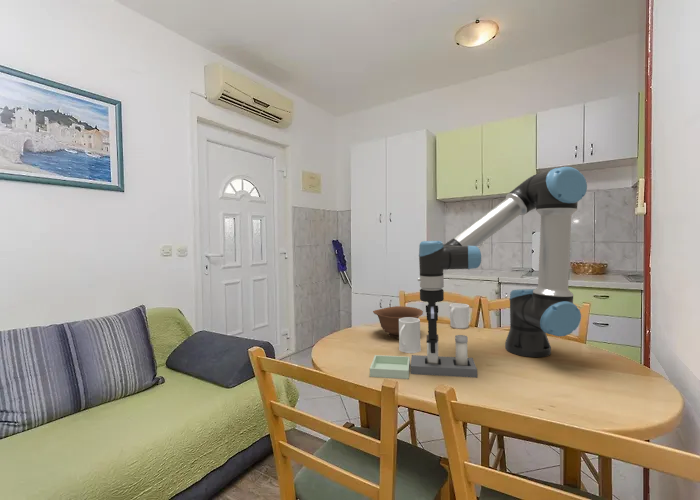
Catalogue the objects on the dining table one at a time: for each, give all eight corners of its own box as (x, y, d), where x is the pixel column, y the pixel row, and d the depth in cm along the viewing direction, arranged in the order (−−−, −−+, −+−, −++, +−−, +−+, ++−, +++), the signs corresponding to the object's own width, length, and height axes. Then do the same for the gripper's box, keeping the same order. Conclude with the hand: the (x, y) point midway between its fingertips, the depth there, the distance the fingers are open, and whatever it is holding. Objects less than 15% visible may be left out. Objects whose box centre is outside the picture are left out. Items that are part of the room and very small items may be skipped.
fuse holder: (472, 366, 115) (472, 332, 114) (477, 379, 105) (476, 342, 104) (411, 363, 119) (411, 330, 118) (410, 375, 109) (410, 339, 108)
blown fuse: (438, 366, 114) (438, 334, 113) (439, 371, 110) (438, 337, 110) (427, 366, 115) (426, 333, 114) (427, 370, 111) (426, 337, 110)
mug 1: (408, 358, 124) (407, 325, 123) (389, 353, 129) (388, 322, 129) (425, 349, 132) (424, 319, 132) (406, 345, 138) (406, 316, 138)
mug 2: (456, 323, 169) (456, 302, 169) (473, 326, 162) (472, 305, 162) (443, 327, 162) (442, 306, 162) (460, 331, 155) (459, 308, 155)
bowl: (366, 331, 160) (365, 308, 159) (409, 326, 166) (408, 304, 166) (385, 345, 139) (384, 318, 138) (433, 339, 145) (432, 313, 145)
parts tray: (410, 365, 117) (409, 356, 117) (408, 380, 105) (408, 370, 105) (375, 363, 119) (374, 355, 119) (369, 378, 108) (369, 368, 108)
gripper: (420, 284, 120) (421, 350, 121) (419, 292, 104) (420, 368, 105) (442, 284, 119) (443, 351, 120) (445, 293, 102) (446, 370, 103)
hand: (432, 359), depth 112 cm, fingers closed on blown fuse, 4 cm apart
